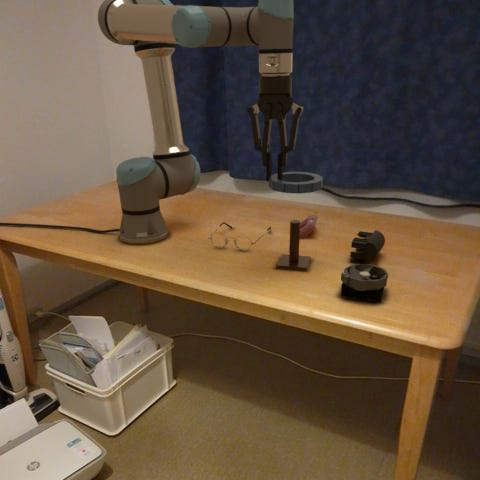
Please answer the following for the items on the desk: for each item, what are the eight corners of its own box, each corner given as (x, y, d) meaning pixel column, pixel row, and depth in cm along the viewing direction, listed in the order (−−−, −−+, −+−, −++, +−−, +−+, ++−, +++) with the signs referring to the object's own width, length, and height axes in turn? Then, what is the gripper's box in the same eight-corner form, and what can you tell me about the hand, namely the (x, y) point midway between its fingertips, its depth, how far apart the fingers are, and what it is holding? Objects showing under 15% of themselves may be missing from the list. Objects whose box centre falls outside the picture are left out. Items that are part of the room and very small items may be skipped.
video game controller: (308, 243, 148) (319, 224, 144) (295, 236, 148) (306, 217, 144) (310, 232, 156) (321, 214, 153) (298, 226, 156) (308, 207, 152)
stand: (276, 268, 128) (277, 225, 122) (282, 257, 135) (282, 215, 129) (306, 271, 126) (308, 227, 120) (310, 259, 133) (312, 217, 127)
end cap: (375, 267, 128) (378, 243, 124) (349, 263, 130) (351, 239, 127) (383, 254, 135) (386, 231, 132) (358, 250, 138) (360, 227, 135)
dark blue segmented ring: (264, 191, 116) (264, 182, 115) (275, 179, 127) (275, 170, 126) (318, 194, 113) (319, 185, 112) (324, 181, 124) (325, 172, 123)
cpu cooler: (390, 265, 114) (385, 283, 106) (387, 287, 117) (382, 306, 109) (346, 260, 117) (338, 277, 109) (344, 281, 120) (336, 299, 112)
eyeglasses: (204, 248, 143) (203, 232, 140) (227, 228, 158) (227, 213, 155) (255, 253, 138) (255, 237, 135) (274, 232, 153) (274, 217, 150)
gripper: (238, 76, 108) (241, 182, 120) (306, 75, 104) (302, 184, 116) (247, 74, 114) (248, 175, 126) (311, 73, 110) (306, 177, 122)
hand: (274, 179), depth 121 cm, fingers closed on dark blue segmented ring, 2 cm apart
